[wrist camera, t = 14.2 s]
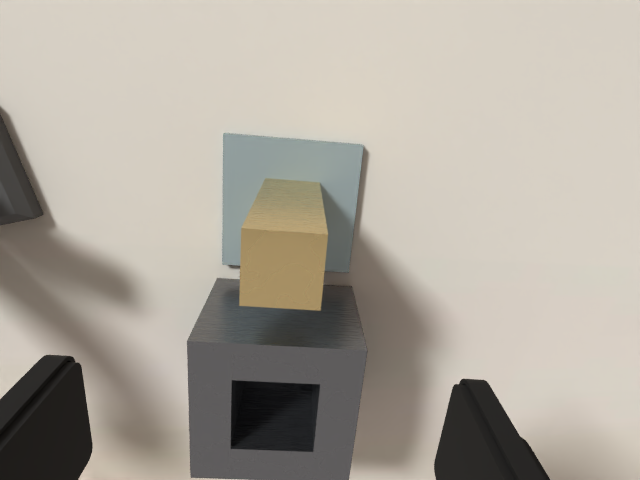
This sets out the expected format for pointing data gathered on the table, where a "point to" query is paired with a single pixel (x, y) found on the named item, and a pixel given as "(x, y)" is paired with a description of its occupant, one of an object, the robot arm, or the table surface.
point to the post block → (274, 387)
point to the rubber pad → (291, 164)
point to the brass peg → (284, 247)
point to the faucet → (14, 184)
